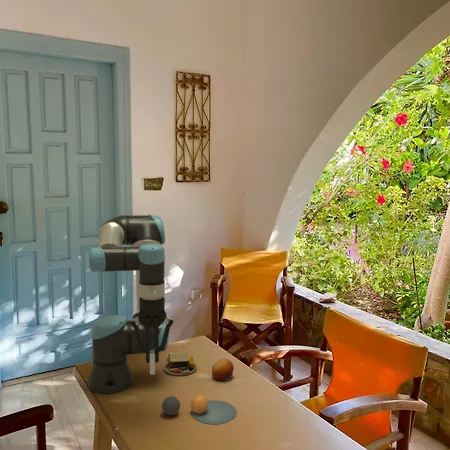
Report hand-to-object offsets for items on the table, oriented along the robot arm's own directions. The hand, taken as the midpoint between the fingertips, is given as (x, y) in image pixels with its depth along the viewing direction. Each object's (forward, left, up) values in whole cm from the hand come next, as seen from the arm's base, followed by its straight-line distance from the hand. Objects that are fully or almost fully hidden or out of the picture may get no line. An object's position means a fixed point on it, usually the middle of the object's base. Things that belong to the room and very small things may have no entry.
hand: (152, 372), depth 141 cm
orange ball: (+11, +9, -11) cm, 18 cm away
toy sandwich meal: (-14, +31, -15) cm, 37 cm away
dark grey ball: (+4, +4, -11) cm, 13 cm away
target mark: (+15, +12, -14) cm, 24 cm away
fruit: (+4, +34, -14) cm, 37 cm away
